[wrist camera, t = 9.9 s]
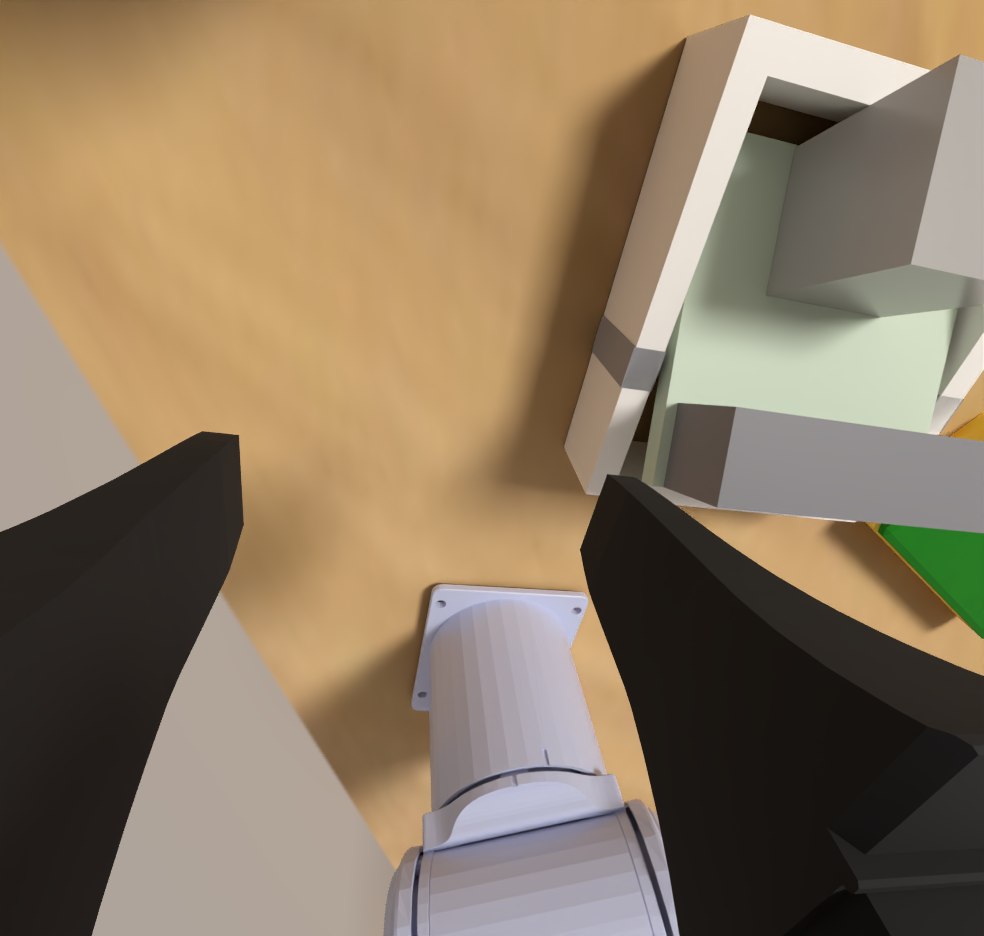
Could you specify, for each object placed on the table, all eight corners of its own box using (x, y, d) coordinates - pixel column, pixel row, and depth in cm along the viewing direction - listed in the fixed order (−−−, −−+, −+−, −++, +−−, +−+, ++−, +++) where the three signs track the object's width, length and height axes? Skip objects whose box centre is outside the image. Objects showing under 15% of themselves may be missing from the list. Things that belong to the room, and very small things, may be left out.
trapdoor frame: (823, 478, 25) (876, 524, 22) (562, 449, 23) (583, 496, 20) (1029, 136, 18) (1147, 138, 15) (685, 35, 16) (748, 14, 13)
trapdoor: (889, 507, 21) (999, 534, 17) (641, 481, 18) (704, 506, 15) (961, 201, 19) (1098, 158, 15) (699, 135, 17) (786, 66, 13)
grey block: (880, 317, 18) (1057, 295, 13) (765, 295, 17) (910, 264, 12) (912, 177, 18) (1110, 102, 13) (794, 147, 17) (959, 54, 12)
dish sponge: (980, 403, 25) (1031, 427, 23) (1067, 537, 31) (1114, 566, 29) (846, 504, 27) (881, 534, 25) (950, 611, 33) (986, 642, 31)
